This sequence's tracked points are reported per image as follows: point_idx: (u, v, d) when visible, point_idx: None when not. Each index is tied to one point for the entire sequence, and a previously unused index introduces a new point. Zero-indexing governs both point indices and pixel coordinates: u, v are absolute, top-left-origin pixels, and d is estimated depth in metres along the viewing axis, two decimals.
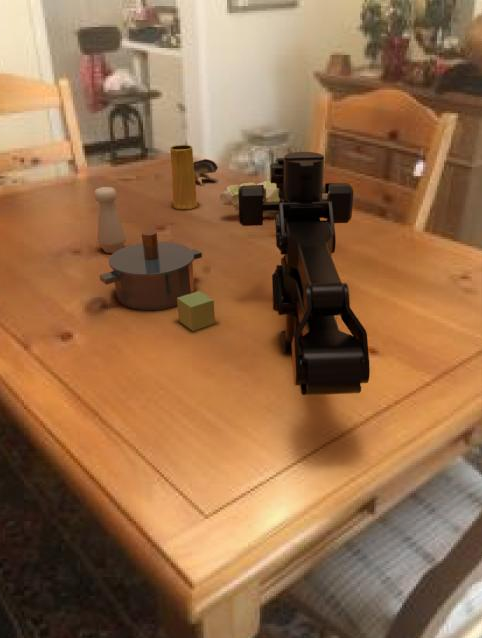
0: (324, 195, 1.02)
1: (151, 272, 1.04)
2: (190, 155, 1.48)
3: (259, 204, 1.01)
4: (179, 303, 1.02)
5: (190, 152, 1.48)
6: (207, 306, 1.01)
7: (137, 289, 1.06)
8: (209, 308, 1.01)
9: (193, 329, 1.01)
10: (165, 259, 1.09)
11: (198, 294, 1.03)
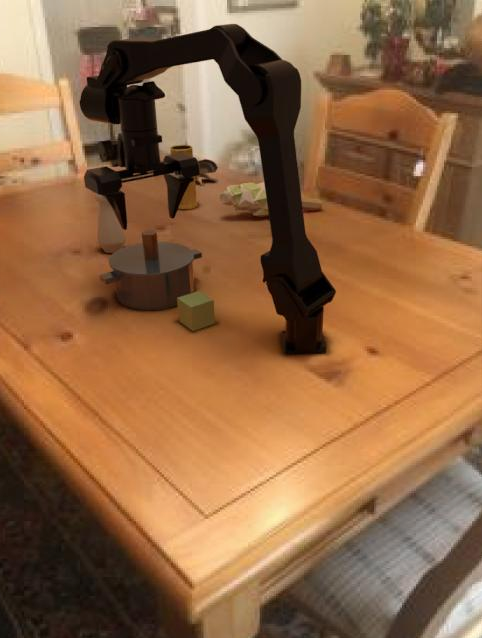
0: None
1: (151, 272, 1.04)
2: (190, 155, 1.48)
3: (106, 168, 0.99)
4: (179, 303, 1.02)
5: (190, 152, 1.48)
6: (207, 306, 1.01)
7: (137, 289, 1.06)
8: (209, 308, 1.01)
9: (193, 329, 1.01)
10: (165, 259, 1.09)
11: (198, 294, 1.03)
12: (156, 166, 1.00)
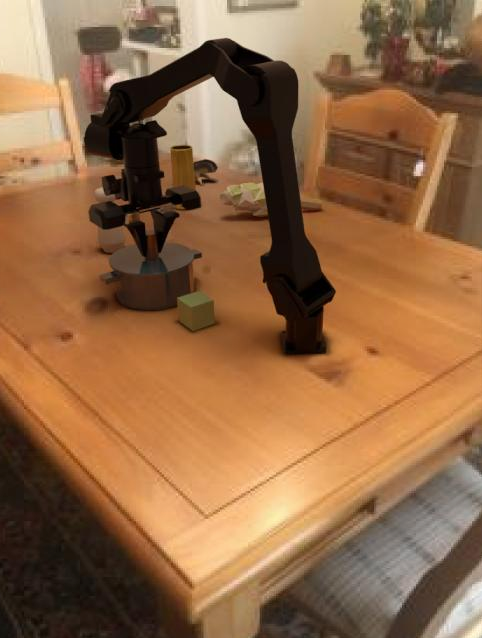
0: None
1: (151, 272, 1.04)
2: (190, 155, 1.48)
3: (110, 203, 1.02)
4: (179, 303, 1.02)
5: (190, 152, 1.48)
6: (207, 306, 1.01)
7: (137, 289, 1.06)
8: (209, 308, 1.01)
9: (193, 329, 1.01)
10: (165, 259, 1.09)
11: (198, 294, 1.03)
12: (158, 200, 1.03)
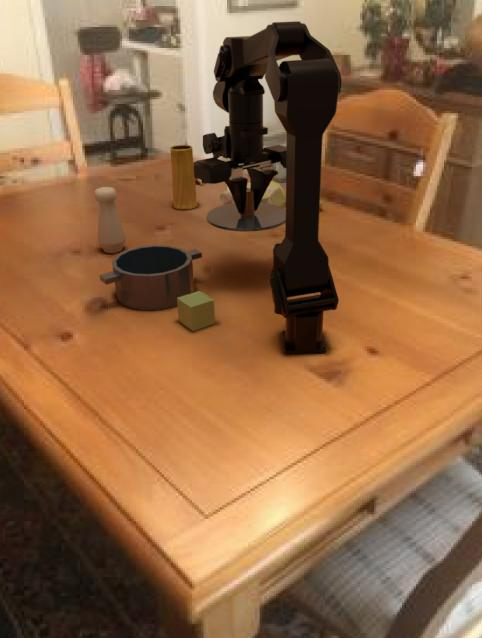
0: None
1: (252, 227, 1.07)
2: (190, 155, 1.48)
3: (215, 159, 1.05)
4: (179, 303, 1.02)
5: (190, 152, 1.48)
6: (207, 306, 1.01)
7: (137, 289, 1.06)
8: (209, 308, 1.01)
9: (193, 329, 1.01)
10: (261, 216, 1.12)
11: (198, 294, 1.03)
12: (261, 157, 1.06)
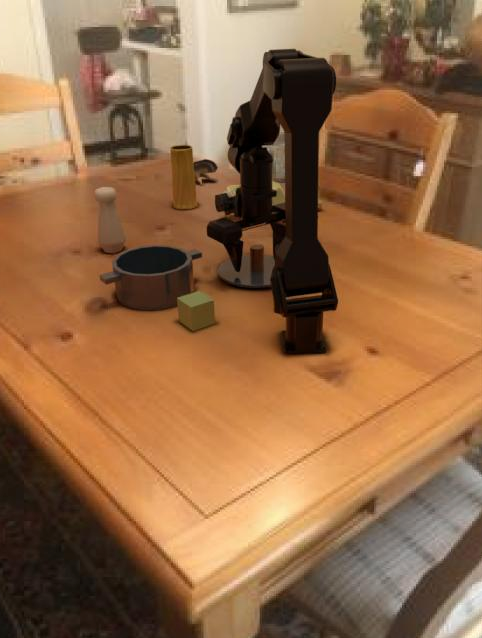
0: None
1: (262, 283, 1.14)
2: (190, 155, 1.48)
3: (227, 220, 1.11)
4: (179, 303, 1.02)
5: (190, 152, 1.48)
6: (207, 306, 1.01)
7: (137, 289, 1.06)
8: (209, 308, 1.01)
9: (193, 329, 1.01)
10: (270, 271, 1.18)
11: (198, 294, 1.03)
12: (270, 217, 1.12)
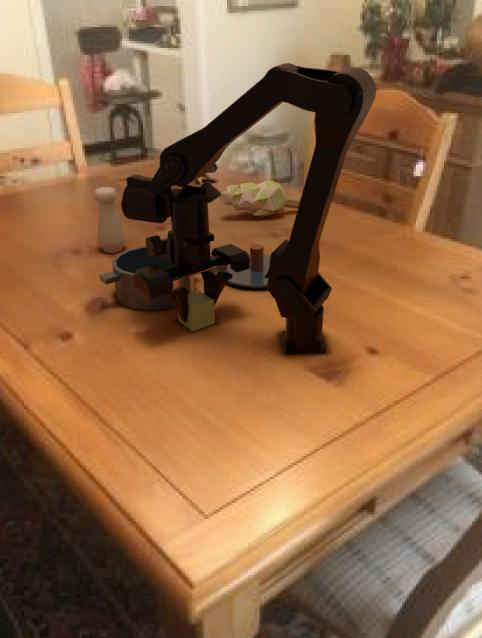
0: None
1: (262, 283, 1.14)
2: None
3: (156, 268, 0.95)
4: None
5: None
6: (207, 306, 1.01)
7: (137, 289, 1.06)
8: (209, 308, 1.01)
9: (193, 329, 1.01)
10: None
11: (198, 294, 1.03)
12: (207, 264, 0.96)
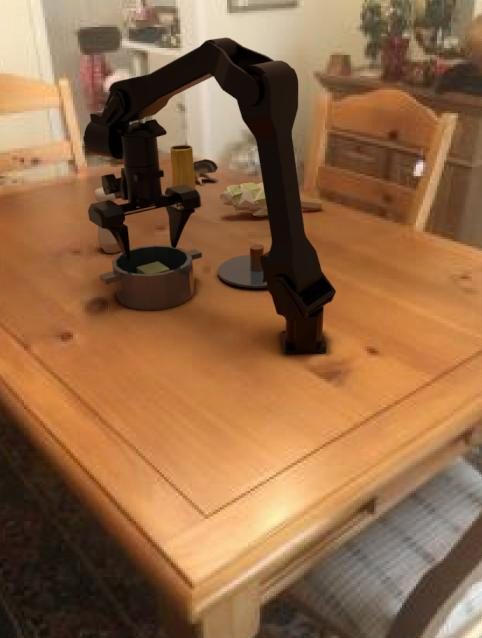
0: None
1: (262, 283, 1.14)
2: (190, 155, 1.48)
3: (110, 202, 1.02)
4: (138, 272, 1.11)
5: (190, 152, 1.48)
6: None
7: (137, 289, 1.06)
8: None
9: None
10: None
11: (156, 264, 1.12)
12: (158, 199, 1.03)
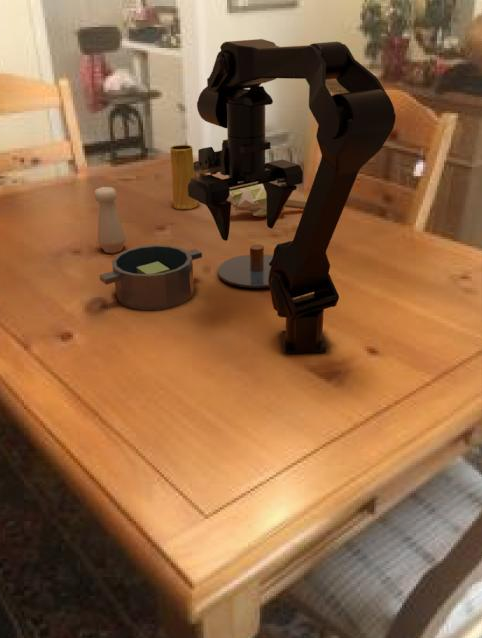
0: None
1: (262, 283, 1.14)
2: (190, 155, 1.48)
3: (212, 177, 0.94)
4: (138, 272, 1.11)
5: (190, 152, 1.48)
6: None
7: (137, 289, 1.06)
8: None
9: None
10: None
11: (156, 264, 1.12)
12: (263, 174, 0.95)
